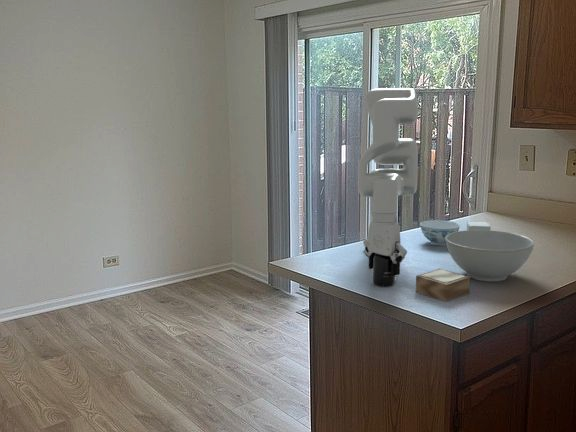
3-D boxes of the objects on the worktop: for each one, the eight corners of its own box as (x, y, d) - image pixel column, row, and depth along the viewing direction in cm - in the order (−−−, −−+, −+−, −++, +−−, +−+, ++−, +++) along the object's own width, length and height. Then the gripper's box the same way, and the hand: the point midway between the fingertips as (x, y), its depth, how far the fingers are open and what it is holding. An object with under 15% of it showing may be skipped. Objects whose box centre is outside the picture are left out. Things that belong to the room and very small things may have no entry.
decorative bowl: (480, 259, 203) (482, 226, 201) (549, 278, 181) (552, 241, 179) (426, 272, 189) (427, 237, 187) (494, 295, 167) (496, 255, 165)
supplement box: (489, 261, 201) (491, 226, 198) (467, 260, 202) (468, 225, 200) (486, 255, 208) (488, 221, 205) (465, 255, 209) (466, 221, 207)
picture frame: (415, 291, 171) (416, 275, 170) (439, 284, 178) (439, 267, 177) (446, 301, 163) (446, 284, 162) (469, 293, 169) (470, 276, 168)
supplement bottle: (389, 288, 175) (390, 250, 172) (369, 284, 178) (369, 247, 176) (398, 282, 180) (398, 245, 178) (377, 278, 184) (378, 242, 181)
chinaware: (412, 240, 231) (413, 222, 229) (444, 237, 235) (445, 219, 234) (432, 249, 217) (433, 230, 215) (466, 246, 222) (467, 226, 220)
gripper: (356, 214, 179) (355, 267, 183) (398, 223, 166) (396, 280, 169) (373, 211, 184) (372, 263, 187) (415, 220, 170) (413, 275, 174)
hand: (383, 271), depth 178 cm, fingers open, 9 cm apart
